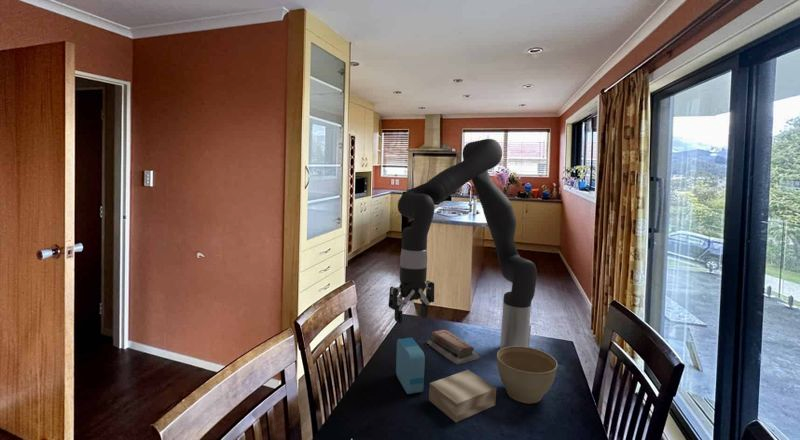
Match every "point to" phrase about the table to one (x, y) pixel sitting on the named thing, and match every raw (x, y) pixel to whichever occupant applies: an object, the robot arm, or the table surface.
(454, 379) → the stand
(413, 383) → the blue product box
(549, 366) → the planter bowl
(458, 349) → the packaged product
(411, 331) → the table surface
